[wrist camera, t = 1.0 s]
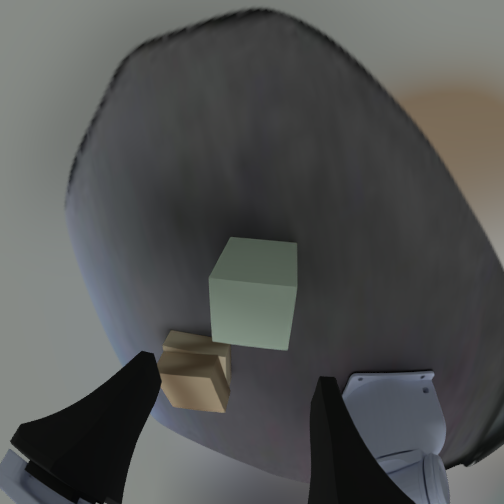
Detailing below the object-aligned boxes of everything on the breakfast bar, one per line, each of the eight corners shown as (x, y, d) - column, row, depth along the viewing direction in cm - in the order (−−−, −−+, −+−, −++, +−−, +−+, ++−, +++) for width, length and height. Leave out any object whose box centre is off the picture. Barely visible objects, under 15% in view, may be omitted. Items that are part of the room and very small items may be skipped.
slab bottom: (231, 336, 24) (225, 357, 22) (232, 375, 26) (227, 395, 24) (172, 327, 24) (162, 345, 22) (179, 366, 27) (171, 383, 25)
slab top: (217, 354, 21) (210, 377, 19) (230, 390, 24) (225, 412, 21) (163, 351, 22) (152, 372, 20) (181, 387, 24) (173, 406, 22)
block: (297, 242, 19) (297, 287, 14) (290, 298, 21) (287, 350, 16) (230, 236, 19) (208, 277, 14) (230, 291, 21) (212, 341, 16)
